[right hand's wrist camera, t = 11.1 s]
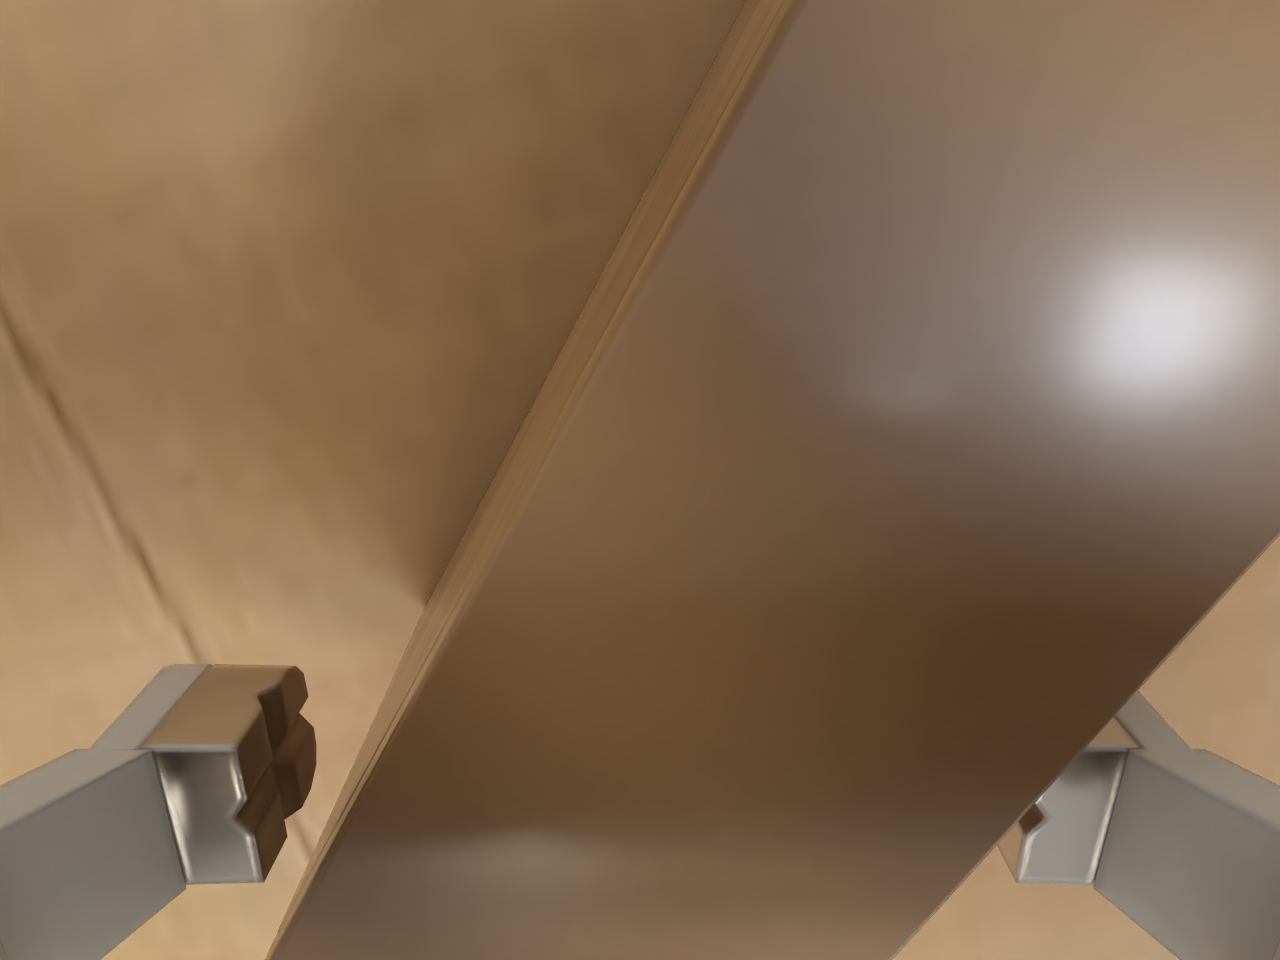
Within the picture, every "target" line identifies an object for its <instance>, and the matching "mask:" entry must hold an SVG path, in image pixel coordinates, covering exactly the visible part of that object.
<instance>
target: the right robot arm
mask: <svg viewBox="0 0 1280 960" xmlns="http://www.w3.org/2000/svg"><path fill="white" fill-rule="evenodd" d="M307 698H308V693H307V688H306V683H305V678H304V674H303V672H302V671H301V670H300V669H299V668H298V667H296V666H272V665H224V664H216V665H211V664H174V665H170V666H167V667H163V668H162V669H161V670H160V672H159V673H158V674H157V675H156V676H155V677H154V678H153V679H152V680H151V681H150V683H149V684H148V685H147V686H146V687H145V688H144V689H143V690H142V691H141V692H140V694H139V695H138V696H137V697H136V698H135V699H134V700H133V701H132V702H131V703H130V705H129V706H128V707H127V708H126V709H125V710H124V711H123V712H122V713H121V714H120V716H119V717H118V718H117V719H116V720H115V721H114V722H113V723H112V724H111V725H110V726H109V728H108V729H107V730H106V731H105V732H104V733H103V734H102V735H101V736H100V737H99V739H98V740H97V741H96V742H95V743H94V744H93V745H92V746H91V747H90V748H89V749H75V750H73V751H71V752H69V753H67V754H64V755H62V756H60V757H58V758H56V759H54V760H52V761H50V762H48V763H46V764H44V765H42V766H40V767H38V768H36V769H34V770H32V771H30V772H28V773H26V774H23V775H21V776H19V777H17V778H15V779H13V780H11V781H9V782H7V783H5V784H3V785H1V786H0V960H100V959H102V958H103V957H104V956H105V955H106V954H108V953H109V952H110V951H111V950H113V949H114V948H115V947H116V946H117V945H119V944H120V943H121V942H122V941H123V940H125V939H126V938H127V937H128V936H129V935H131V934H132V933H133V932H134V931H135V930H137V929H138V928H139V927H140V926H142V925H143V924H144V923H145V922H146V921H148V920H149V919H150V918H151V917H152V916H154V915H155V914H156V913H157V912H158V911H160V910H161V909H162V908H163V907H165V906H166V905H167V904H168V903H169V902H171V901H172V900H173V899H174V898H175V897H177V896H178V895H179V894H180V893H181V892H183V891H184V890H185V889H186V884H221V883H255V882H264V881H265V879H266V877H267V875H268V873H269V871H270V869H271V867H272V865H273V863H274V862H275V860H276V858H277V856H278V854H279V852H280V850H281V848H282V846H283V844H284V842H285V840H286V838H287V832H286V826H285V821H284V820H285V819H286V818H288V817H289V816H290V815H292V814H293V813H295V812H296V811H298V810H299V809H300V808H302V806H303V804H304V802H305V800H306V798H307V796H308V794H309V792H310V789H311V786H312V781H313V777H314V772H315V767H316V740H315V733H314V727H313V726H312V725H311V724H310V723H309V722H308V721H307V720H306V719H305V718H304V717H303V716H302V715H301V714H300V713H299V712H300V710H301V708H302V707H303V705H304V703H305V701H306V700H307ZM997 846H998V848H999V850H1000V852H1001V854H1002V856H1003V857H1004V859H1005V861H1006V863H1007V865H1008V867H1009V869H1010V871H1011V873H1012V875H1013V877H1014V879H1015V881H1016V882H1022V883H1058V884H1094V889H1095V890H1097V891H1098V892H1099V893H1100V894H1101V895H1103V896H1104V897H1105V898H1106V899H1107V900H1109V901H1110V902H1111V903H1112V904H1113V905H1115V906H1116V907H1117V908H1118V909H1119V910H1121V911H1122V912H1123V913H1124V914H1126V915H1127V916H1128V917H1129V918H1130V919H1132V920H1133V921H1134V922H1135V923H1136V924H1138V925H1139V926H1140V927H1141V928H1142V929H1144V930H1145V931H1146V932H1147V933H1148V934H1150V935H1151V936H1152V937H1153V938H1155V939H1156V940H1157V941H1158V942H1159V943H1161V944H1162V945H1163V946H1164V947H1165V948H1167V949H1168V950H1169V951H1170V952H1171V953H1173V954H1174V955H1175V956H1176V957H1177V958H1179V959H1180V960H1280V786H1279V785H1277V784H1275V783H1273V782H1271V781H1269V780H1267V779H1265V778H1263V777H1261V776H1258V775H1256V774H1254V773H1252V772H1250V771H1248V770H1246V769H1244V768H1242V767H1240V766H1238V765H1236V764H1234V763H1232V762H1230V761H1228V760H1226V759H1224V758H1222V757H1220V756H1218V755H1216V754H1213V753H1211V752H1209V751H1207V750H1205V749H1191V748H1190V747H1189V746H1188V745H1187V744H1186V743H1185V742H1184V741H1183V740H1182V739H1181V737H1180V736H1179V735H1178V734H1177V733H1176V732H1175V731H1174V730H1173V729H1172V728H1171V726H1170V725H1169V724H1168V723H1167V722H1166V721H1165V720H1164V719H1163V718H1162V717H1161V715H1160V714H1159V713H1158V712H1157V711H1156V710H1155V709H1154V708H1153V707H1152V706H1151V704H1150V703H1149V702H1148V701H1147V700H1146V699H1145V698H1144V697H1143V696H1142V695H1141V693H1140V692H1139V691H1137V692H1136V693H1135V694H1134V695H1133V696H1132V697H1131V698H1130V699H1129V700H1128V702H1127V703H1126V704H1125V705H1124V706H1123V707H1122V708H1121V709H1120V710H1119V711H1118V713H1117V714H1116V715H1115V716H1114V717H1113V718H1112V719H1111V720H1110V721H1109V722H1108V724H1107V725H1106V726H1105V727H1104V728H1103V729H1102V730H1101V731H1100V732H1099V733H1098V734H1097V736H1096V737H1095V738H1094V739H1093V740H1092V741H1091V742H1090V743H1089V744H1088V745H1087V747H1086V748H1085V749H1084V750H1083V751H1082V752H1081V753H1080V754H1079V755H1078V756H1077V758H1076V759H1075V760H1074V761H1073V762H1072V763H1071V764H1070V765H1069V766H1068V767H1067V768H1066V770H1065V771H1064V772H1063V773H1062V774H1061V775H1060V776H1059V777H1058V778H1057V779H1056V781H1055V782H1054V783H1053V784H1052V785H1051V786H1050V787H1049V788H1048V789H1047V790H1046V792H1045V793H1044V794H1043V795H1042V796H1041V797H1040V798H1039V799H1038V800H1037V801H1036V802H1035V804H1034V805H1033V806H1032V807H1031V808H1030V809H1029V810H1028V811H1027V812H1026V813H1025V815H1024V816H1023V817H1022V818H1021V819H1020V820H1019V821H1018V822H1017V823H1016V824H1015V826H1014V827H1013V828H1012V829H1011V830H1010V831H1009V832H1008V833H1007V834H1006V835H1005V836H1004V838H1003V839H1002V840H1001V841H1000V842H999V843H998V844H997Z"/></svg>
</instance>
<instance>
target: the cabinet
mask: <svg viewBox="0 0 1280 960" xmlns="http://www.w3.org/2000/svg"><path fill="white" fill-rule="evenodd" d="M1279 535H1280V0H746V2H745V4H744V6H743V8H742V9H741V11H740V13H739V15H738V17H737V19H736V21H735V23H734V25H733V26H732V28H731V30H730V32H729V34H728V36H727V38H726V40H725V42H724V43H723V45H722V47H721V49H720V51H719V53H718V55H717V57H716V59H715V60H714V62H713V64H712V66H711V68H710V70H709V72H708V74H707V76H706V78H705V79H704V81H703V83H702V85H701V87H700V89H699V91H698V93H697V95H696V96H695V98H694V100H693V102H692V104H691V106H690V108H689V110H688V112H687V113H686V115H685V117H684V119H683V121H682V123H681V125H680V127H679V129H678V130H677V132H676V134H675V136H674V138H673V140H672V142H671V144H670V146H669V147H668V149H667V151H666V153H665V155H664V157H663V159H662V161H661V163H660V164H659V166H658V168H657V170H656V172H655V174H654V176H653V178H652V180H651V181H650V183H649V185H648V187H647V189H646V191H645V193H644V195H643V197H642V198H641V200H640V202H639V204H638V206H637V208H636V210H635V212H634V214H633V216H632V217H631V219H630V221H629V223H628V225H627V227H626V229H625V231H624V233H623V234H622V236H621V238H620V240H619V242H618V244H617V246H616V248H615V250H614V251H613V253H612V255H611V257H610V259H609V261H608V263H607V265H606V267H605V268H604V270H603V272H602V274H601V276H600V278H599V280H598V282H597V284H596V285H595V287H594V289H593V291H592V293H591V295H590V297H589V299H588V301H587V302H586V304H585V306H584V308H583V310H582V312H581V314H580V316H579V318H578V319H577V321H576V323H575V325H574V327H573V329H572V331H571V333H570V335H569V337H568V338H567V340H566V342H565V344H564V346H563V348H562V350H561V352H560V354H559V355H558V357H557V359H556V361H555V363H554V365H553V367H552V369H551V371H550V372H549V374H548V376H547V378H546V380H545V382H544V384H543V386H542V388H541V389H540V391H539V393H538V395H537V397H536V399H535V401H534V403H533V405H532V406H531V408H530V410H529V412H528V414H527V416H526V418H525V420H524V422H523V423H522V425H521V427H520V429H519V431H518V433H517V435H516V437H515V439H514V440H513V442H512V444H511V446H510V448H509V450H508V452H507V454H506V456H505V457H504V459H503V461H502V463H501V465H500V467H499V469H498V471H497V473H496V475H495V476H494V478H493V480H492V482H491V484H490V486H489V488H488V490H487V492H486V493H485V495H484V497H483V499H482V501H481V503H480V505H479V507H478V509H477V510H476V512H475V514H474V516H473V518H472V520H471V522H470V524H469V526H468V527H467V529H466V531H465V533H464V535H463V537H462V539H461V541H460V543H459V544H458V546H457V548H456V550H455V552H454V554H453V556H452V558H451V560H450V561H449V563H448V565H447V567H446V569H445V571H444V573H443V575H442V577H441V578H440V580H439V582H438V584H437V586H436V588H435V590H434V592H433V594H432V595H431V597H430V599H429V601H428V603H427V605H426V607H425V609H424V611H423V613H422V615H421V617H420V620H419V622H418V624H417V626H416V628H415V631H414V633H413V635H412V637H411V639H410V642H409V644H408V646H407V648H406V650H405V653H404V655H403V657H402V659H401V661H400V664H399V666H398V668H397V670H396V672H395V675H394V677H393V679H392V681H391V683H390V686H389V688H388V690H387V692H386V694H385V697H384V699H383V701H382V703H381V705H380V708H379V710H378V712H377V714H376V716H375V719H374V721H373V723H372V725H371V727H370V730H369V732H368V734H367V736H366V738H365V741H364V743H363V745H362V747H361V749H360V752H359V754H358V756H357V758H356V760H355V763H354V765H353V767H352V769H351V771H350V774H349V776H348V778H347V780H346V782H345V785H344V787H343V789H342V791H341V793H340V795H339V798H338V800H337V802H336V804H335V806H334V809H333V811H332V813H331V815H330V817H329V820H328V822H327V824H326V826H325V828H324V831H323V833H322V835H321V837H320V839H319V842H318V844H317V846H316V848H315V850H314V853H313V855H312V857H311V859H310V861H309V864H308V866H307V868H306V870H305V872H304V875H303V877H302V879H301V881H300V883H299V886H298V888H297V890H296V892H295V894H294V897H293V899H292V901H291V903H290V905H289V908H288V910H287V912H286V914H285V916H284V919H283V921H282V923H281V925H280V927H279V930H278V934H277V936H276V937H275V939H274V941H273V943H272V945H271V947H270V949H269V952H268V954H267V956H266V958H265V960H892V959H893V958H894V957H895V956H896V955H897V954H898V953H899V952H900V951H901V949H902V948H903V947H904V946H905V945H906V944H907V943H908V942H909V941H910V940H911V938H912V937H913V936H914V935H915V934H916V933H917V932H918V931H919V930H920V929H921V928H922V926H923V925H924V924H925V923H926V922H927V921H928V920H929V919H930V918H931V917H932V915H933V914H934V913H935V912H936V911H937V910H938V909H939V908H940V907H941V906H942V904H943V903H944V902H945V901H946V900H947V899H948V898H949V897H950V896H951V895H952V894H953V892H954V891H955V890H956V889H957V888H958V887H959V886H960V885H961V884H962V883H963V881H964V880H965V879H966V878H967V877H968V876H969V875H970V874H971V873H972V872H973V870H974V869H975V868H976V867H977V866H978V865H979V864H980V863H981V862H982V861H983V860H984V858H985V857H986V856H987V855H988V854H989V853H990V852H991V851H992V850H993V849H994V847H995V846H996V845H997V844H998V843H999V842H1000V841H1001V840H1002V839H1003V838H1004V836H1005V835H1006V834H1007V833H1008V832H1009V831H1010V830H1011V829H1012V828H1013V827H1014V826H1015V824H1016V823H1017V822H1018V821H1019V820H1020V819H1021V818H1022V817H1023V816H1024V815H1025V813H1026V812H1027V811H1028V810H1029V809H1030V808H1031V807H1032V806H1033V805H1034V804H1035V802H1036V801H1037V800H1038V799H1039V798H1040V797H1041V796H1042V795H1043V794H1044V793H1045V792H1046V790H1047V789H1048V788H1049V787H1050V786H1051V785H1052V784H1053V783H1054V782H1055V781H1056V779H1057V778H1058V777H1059V776H1060V775H1061V774H1062V773H1063V772H1064V771H1065V770H1066V768H1067V767H1068V766H1069V765H1070V764H1071V763H1072V762H1073V761H1074V760H1075V759H1076V758H1077V756H1078V755H1079V754H1080V753H1081V752H1082V751H1083V750H1084V749H1085V748H1086V747H1087V745H1088V744H1089V743H1090V742H1091V741H1092V740H1093V739H1094V738H1095V737H1096V736H1097V734H1098V733H1099V732H1100V731H1101V730H1102V729H1103V728H1104V727H1105V726H1106V725H1107V724H1108V722H1109V721H1110V720H1111V719H1112V718H1113V717H1114V716H1115V715H1116V714H1117V713H1118V711H1119V710H1120V709H1121V708H1122V707H1123V706H1124V705H1125V704H1126V703H1127V702H1128V700H1129V699H1130V698H1131V697H1132V696H1133V695H1134V694H1135V693H1136V692H1137V691H1138V690H1139V688H1140V687H1141V686H1142V685H1143V684H1144V683H1145V682H1146V681H1147V680H1148V679H1149V677H1150V676H1151V675H1152V674H1153V673H1154V672H1155V671H1156V670H1157V669H1158V668H1159V666H1160V665H1161V664H1162V663H1163V662H1164V661H1165V660H1166V659H1167V658H1168V657H1169V656H1170V654H1171V653H1172V652H1173V651H1174V650H1175V649H1176V648H1177V647H1178V646H1179V645H1180V643H1181V642H1182V641H1183V640H1184V639H1185V638H1186V637H1187V636H1188V635H1189V634H1190V632H1191V631H1192V630H1193V629H1194V628H1195V627H1196V626H1197V625H1198V624H1199V623H1200V622H1201V620H1202V619H1203V618H1204V617H1205V616H1206V615H1207V614H1208V613H1209V612H1210V611H1211V609H1212V608H1213V607H1214V606H1215V605H1216V604H1217V603H1218V602H1219V601H1220V600H1221V598H1222V597H1223V596H1224V595H1225V594H1226V593H1227V592H1228V591H1229V590H1230V589H1231V588H1232V586H1233V585H1234V584H1235V583H1236V582H1237V581H1238V580H1239V579H1240V578H1241V577H1242V575H1243V574H1244V573H1245V572H1246V571H1247V570H1248V569H1249V568H1250V567H1251V566H1252V564H1253V563H1254V562H1255V561H1256V560H1257V559H1258V558H1259V557H1260V556H1261V555H1262V554H1263V552H1264V551H1265V550H1266V549H1267V548H1268V547H1269V546H1270V545H1271V544H1272V543H1273V541H1274V540H1275V539H1276V538H1277V537H1278V536H1279Z"/></svg>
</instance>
